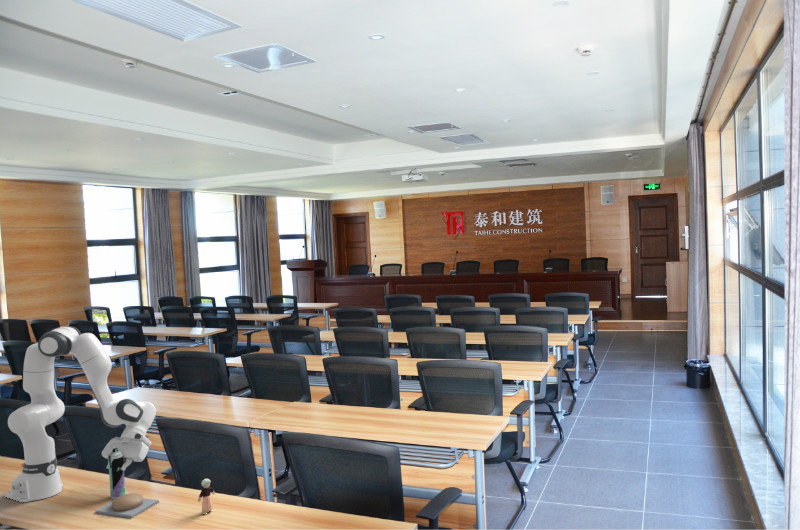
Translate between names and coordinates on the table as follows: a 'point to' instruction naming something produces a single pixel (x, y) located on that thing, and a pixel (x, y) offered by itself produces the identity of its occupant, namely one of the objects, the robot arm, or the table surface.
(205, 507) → the grandmother figurine
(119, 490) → the spray can
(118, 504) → the display stand
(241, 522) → the table surface
